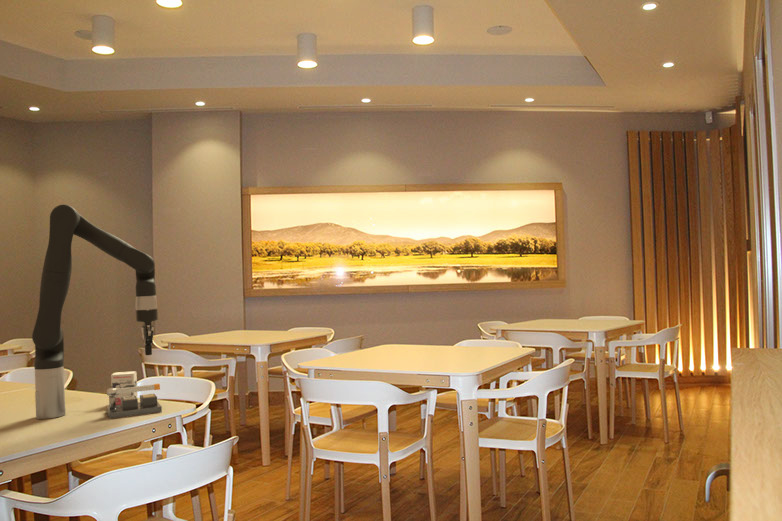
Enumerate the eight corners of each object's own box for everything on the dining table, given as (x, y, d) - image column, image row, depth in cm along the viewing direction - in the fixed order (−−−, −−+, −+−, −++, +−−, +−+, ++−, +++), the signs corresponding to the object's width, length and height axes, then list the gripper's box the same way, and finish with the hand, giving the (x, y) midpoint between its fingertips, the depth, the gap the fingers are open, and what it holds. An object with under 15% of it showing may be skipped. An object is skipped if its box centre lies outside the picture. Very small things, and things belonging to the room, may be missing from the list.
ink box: (111, 405, 253) (110, 374, 253) (115, 403, 257) (113, 372, 258) (135, 404, 254) (133, 372, 254) (138, 401, 259) (136, 371, 259)
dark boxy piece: (109, 418, 228) (108, 399, 228) (107, 411, 241) (106, 393, 241) (161, 412, 236) (160, 393, 236) (156, 405, 248) (155, 387, 248)
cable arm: (107, 395, 233) (107, 390, 233) (106, 394, 236) (106, 388, 236) (160, 389, 241) (159, 384, 241) (158, 388, 244) (158, 383, 244)
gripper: (134, 308, 253) (136, 354, 253) (137, 309, 241) (139, 357, 241) (155, 307, 256) (156, 352, 256) (159, 308, 244) (161, 355, 244)
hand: (148, 354), depth 249 cm, fingers closed
